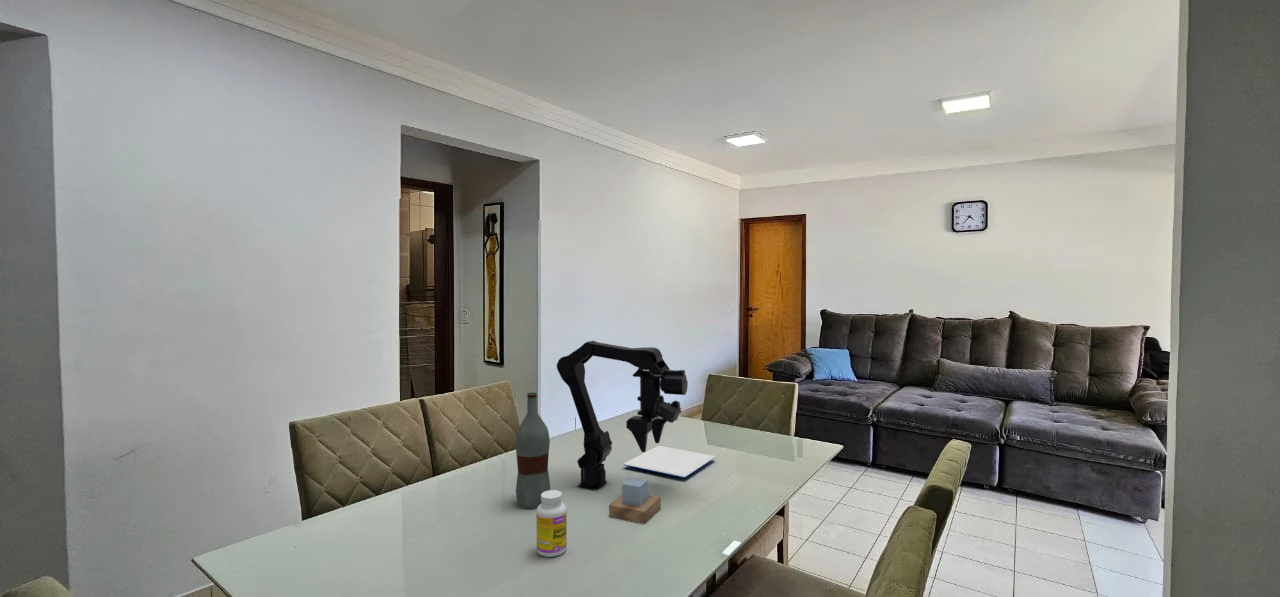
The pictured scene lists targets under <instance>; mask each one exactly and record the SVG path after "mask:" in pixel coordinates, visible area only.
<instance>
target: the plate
mask: <svg viewBox="0 0 1280 597" xmlns="http://www.w3.org/2000/svg"><path fill="white" fill-rule="evenodd" d="M715 458H716V456H715V455H712V454H706V453H700V452H695V451H690V450H684V449H680V448H679V449H678V448H673V447H669V446H668V447H667V446H661V445H657V446H655V447H654V448H651V449H649V450H648V451H646V452H642V454H640V455H637V456H635V457H633V458H632V459H630V460H627V461H626V462H624V463H623V466H624V467H625V466H626V467H630V468H631V467H632V468H635V469H640V470H645V471H650V472H655V473H659V474H662V475H670V476H674V477H678V478H684V479H685V478H686V477H688V476H689V475H691V474H692V473H694V472H696V471H698V470H699V469H701V468H702V467H703V466H705V465H706V464H708V463H709V462H711V461H712V460H714V459H715Z"/></svg>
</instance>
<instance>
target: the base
mask: <svg viewBox="0 0 1280 597" xmlns="http://www.w3.org/2000/svg"><path fill="white" fill-rule="evenodd" d="M661 501H662V499H661V497H660V496H654V495H649V494H648V500H647V501H646V502H644V503H643V504H642V505H641V506H635V505H630V504H625V503H622V495H620V496H619V497H617V499H615V500H614V501H612V502H611V503H610V504H609V505H608V512H609V513H608V517H609V516H611V517H610V518H613V517H615V519H618V518H620V520H623V519H625V520H624V521H628V520H630V521H629V522H633V521H635V522H634V523H638V522H640V523H639V524H642V523H644V524H643V525H645V524H646V523H648V521H649V520H650V519H652V518H653V515H654V514H655V513H656V514H657V513H658V512H660V510H661V509H662V508H661V507H662V504H661V503H662V502H661ZM654 516H655V515H654Z"/></svg>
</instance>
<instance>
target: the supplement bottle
mask: <svg viewBox="0 0 1280 597" xmlns="http://www.w3.org/2000/svg"><path fill="white" fill-rule="evenodd" d="M562 500H563V492H561V491H559V490H555V489H550V490H549V491H545V492H543V493H542V494H541V502H542V504H540V505H539V506H538V508H536V511H535V512H536V513H535V514H536V551H537V552H536V553H537V554H539V555H540V556H542V557H546V558H553V557H554V558H555V557H558V556H560V555H562V554H564V553H565V551H567V544H568V543H567V542H568V541H567V535H568V534H567V531H568V530H567V528H568V527H567V507H566V504H564V503H563V502H562Z"/></svg>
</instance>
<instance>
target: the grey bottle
mask: <svg viewBox="0 0 1280 597" xmlns="http://www.w3.org/2000/svg"><path fill="white" fill-rule="evenodd" d="M526 396H527V397H526V398H527V406H526V409H527V412H526V415H525V416H524V418H523V420H522V422H521V423H520V424H519V427H518V428H517V431H516V435H515V442H514V443H515V452H516V453H515V454H516V464H517V476H516V477H517V478H516V484H515V495H516V496H515V497H516V501H517V504H518V506H519V507H520V506H521V507H520V508H522V507H523V508H522V509H526V508H535V509H537V508H538V506H539V505H540V504H542V502H541V494H542V493H543V492H545V491H549V490H551V481H550V474H549V454H550V444H551V443H550V434H549V429H548V426H547V425H546V424H545V422H544V421H543V419H542V417H541V416H540V414H539V413H538V393H537V392H535V391H534V392H527V393H526Z"/></svg>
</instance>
